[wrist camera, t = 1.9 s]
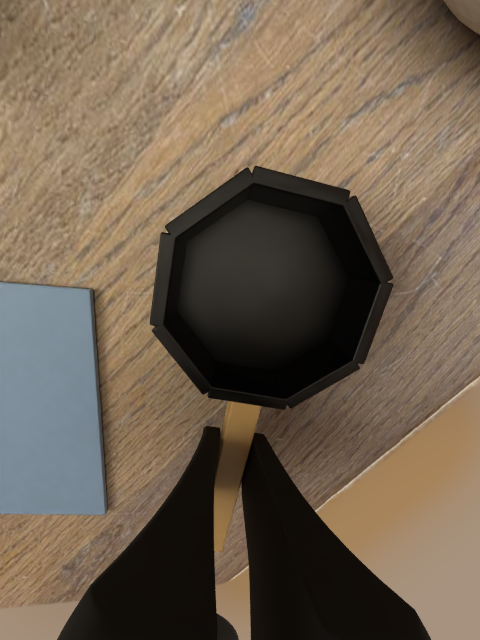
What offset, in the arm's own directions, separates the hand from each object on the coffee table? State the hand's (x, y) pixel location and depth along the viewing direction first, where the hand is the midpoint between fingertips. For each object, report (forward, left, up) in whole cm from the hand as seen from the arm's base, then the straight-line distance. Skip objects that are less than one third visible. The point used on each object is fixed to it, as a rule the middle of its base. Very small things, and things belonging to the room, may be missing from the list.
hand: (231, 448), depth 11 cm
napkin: (0, +12, -2) cm, 12 cm away
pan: (+3, 0, -2) cm, 4 cm away
